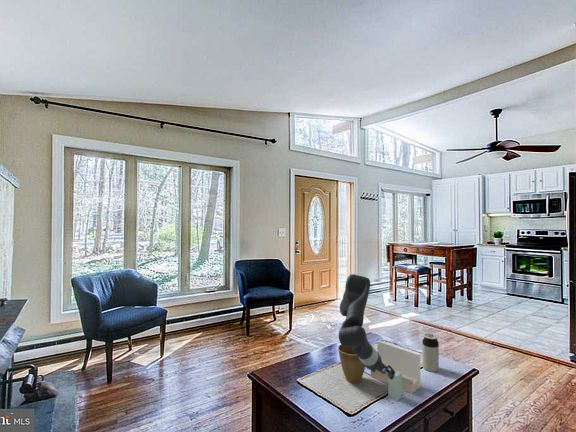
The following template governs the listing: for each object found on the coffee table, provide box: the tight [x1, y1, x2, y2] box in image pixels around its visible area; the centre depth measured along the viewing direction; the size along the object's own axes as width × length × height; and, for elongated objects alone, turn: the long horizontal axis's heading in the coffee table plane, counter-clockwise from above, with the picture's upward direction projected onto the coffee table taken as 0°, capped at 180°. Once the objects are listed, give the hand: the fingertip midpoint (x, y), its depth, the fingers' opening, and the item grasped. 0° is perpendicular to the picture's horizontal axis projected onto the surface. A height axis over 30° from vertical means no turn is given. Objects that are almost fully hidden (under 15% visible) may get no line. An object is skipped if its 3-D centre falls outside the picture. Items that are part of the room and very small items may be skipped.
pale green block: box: [387, 369, 403, 401], centre depth 144 cm, size 4×4×11 cm
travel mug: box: [422, 332, 440, 373], centre depth 169 cm, size 8×8×18 cm
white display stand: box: [370, 340, 421, 394], centre depth 157 cm, size 9×22×16 cm, turn 44°
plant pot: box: [337, 344, 366, 384], centre depth 159 cm, size 15×15×16 cm
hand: (383, 373), depth 136 cm, fingers open, 8 cm apart
